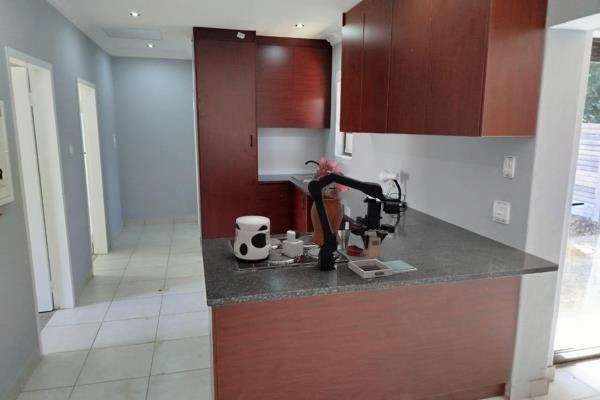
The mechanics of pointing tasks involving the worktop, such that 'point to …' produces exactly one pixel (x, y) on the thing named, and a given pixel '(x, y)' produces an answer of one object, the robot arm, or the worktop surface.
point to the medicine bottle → (293, 243)
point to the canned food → (355, 249)
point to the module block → (373, 246)
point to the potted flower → (328, 203)
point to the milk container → (252, 238)
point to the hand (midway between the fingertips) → (371, 249)
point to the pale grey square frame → (368, 274)
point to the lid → (400, 266)
